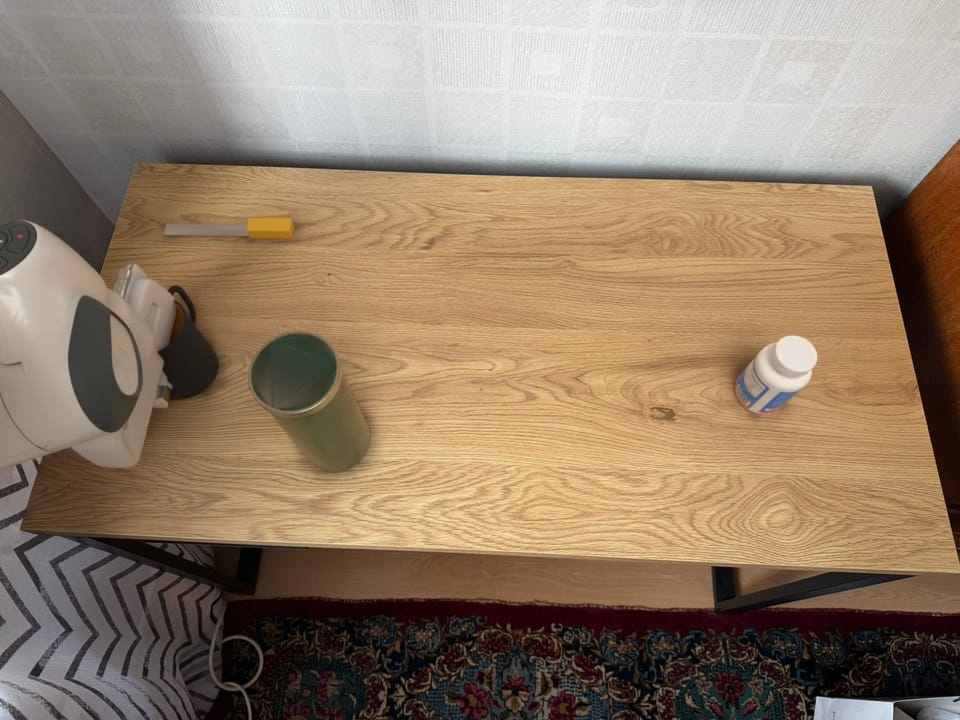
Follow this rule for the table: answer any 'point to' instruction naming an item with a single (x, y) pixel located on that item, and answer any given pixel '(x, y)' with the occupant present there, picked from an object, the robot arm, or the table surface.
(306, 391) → the canister
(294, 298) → the table surface
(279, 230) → the knife
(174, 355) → the mug
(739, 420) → the table surface
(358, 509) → the table surface
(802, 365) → the pill bottle
